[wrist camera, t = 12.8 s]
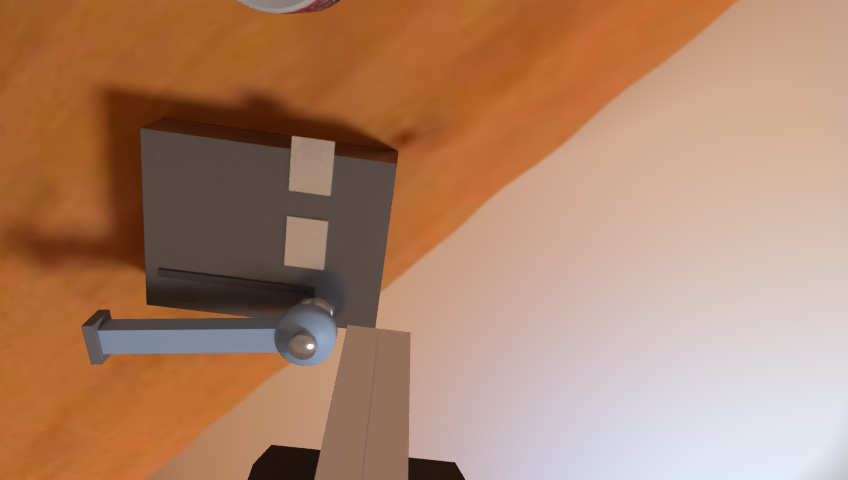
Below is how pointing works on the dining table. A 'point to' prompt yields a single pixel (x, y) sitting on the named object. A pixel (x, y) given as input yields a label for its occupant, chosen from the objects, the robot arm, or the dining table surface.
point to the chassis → (264, 223)
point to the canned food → (289, 5)
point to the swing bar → (210, 334)
